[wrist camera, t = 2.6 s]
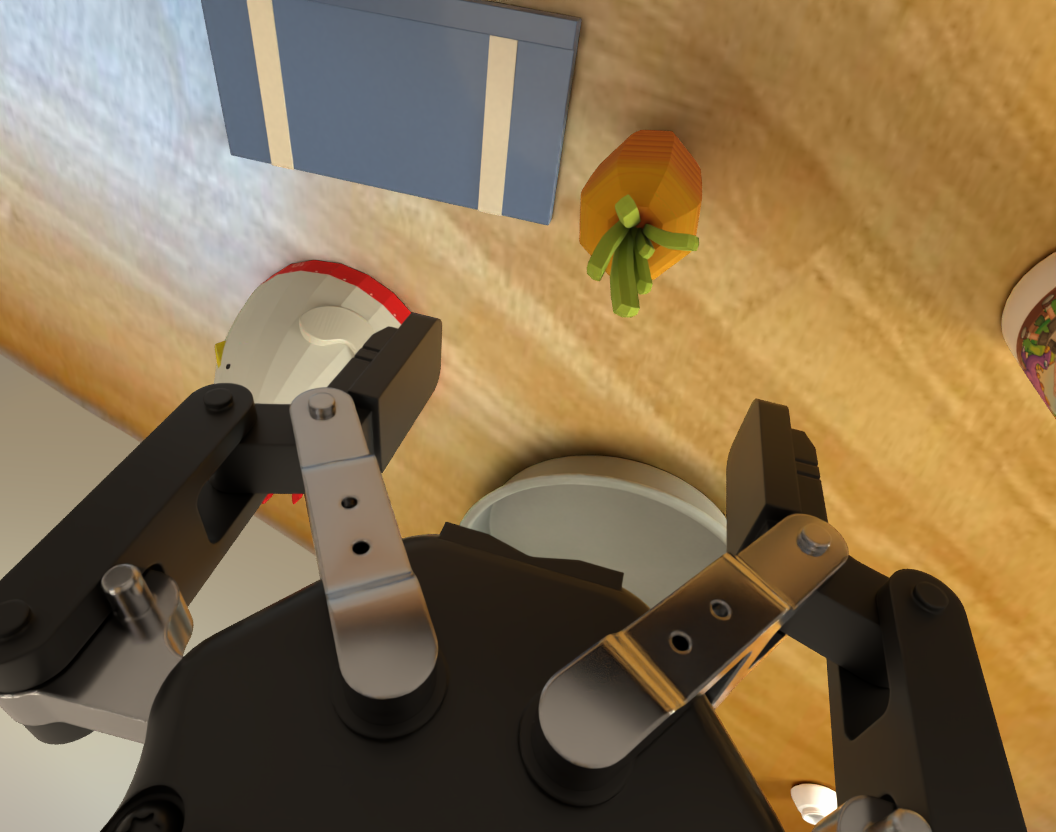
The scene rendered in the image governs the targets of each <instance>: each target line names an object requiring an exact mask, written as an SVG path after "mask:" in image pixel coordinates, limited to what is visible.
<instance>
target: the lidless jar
mask: <svg viewBox="0 0 1056 832" xmlns="http://www.w3.org/2000/svg"><path fill="white" fill-rule="evenodd" d="M791 797H792V799H793V801H794V803H795V804H796V806H797V808H798V810H799V811H800V812H801V813H802V817H803V819H804V820H805V821H807V822H809V823H811V824H815V825H816V824H817V823H818V822H819V821H820V820H821V819H823V818H824V817H826V816H827V815H828V814H830V813H831V812H833V811H834V810H835V809H837V800H836V792H835V791H833V790H831V789H829V788H827V787H825V786H821V785H818V784H801V785H797V786H794V787H793V788H792V789H791Z"/></svg>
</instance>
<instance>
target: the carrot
mask: <svg viewBox="0 0 1056 832" xmlns="http://www.w3.org/2000/svg"><path fill="white" fill-rule="evenodd" d="M701 201H702V178H701V169H700V167H699V166H698V164H697V162H696V160H695V159H694V158H693V157H692V155H691V154H690V153H689V152H688V150H687V149H686V148H685V147H684V145H683V144H682V143H681V142H680V140H679V139H678V138H677V137H676V135H675V134H674V133H673V132H672V131H657V130H640V131H637V132H635V133H633V134H632V135H630V136H629V137H628V138H627V139H626V140H625V141H624V142H623V143H622V144H621V145H620V146H619V147H618V148H617V149H616V150H615V151H613V152H612V153H611V154H610V155H609V156H608V157H607V158H606V159H605V160H604V161H603V162H602V163H601V164H600V165H599V166H598V168H597V169H596V170H595V172H594V173H593V174H592V176H591V177H590V179H589V180H588V182H587V183H586V185H585V187H584V188H583V190H582V192H581V207H580V237H579V241H580V244H581V245H582V246H583V247H584V249H585V250H586V251H587V252H588V253H589V254H590V255H591V258H590V260H589V262H588V266H587V274H588V275H589V276H590V277H591V278H592V279H593V280H597V281H600V280H601V278H602V276H603V274H604V272H605V271H606V272H607V274H608V275H609V276H610V288H611V300H612V306H613V312H614V313H615V314H617V315H619V316H621V317H633V316H635V315H637V313H638V311H639V309H640V307H639V299H638V293H639V294H647V293H649V292H650V291H651V288H652V284H653V283H652V280H654V279H655V278H657V277H658V276H659V275H661V274H662V273H663V272H665V271H666V270H667V269H669V268H670V267H671V266H673V265H674V264H676V263H677V262H678V261H680V260H681V259H682V258H684V257H685V256H686V255H688V254H689V253H690V252H691V251H697V248H698V246H699V238H698V237H696V233H697V226H698V220H699V214H700V207H701Z"/></svg>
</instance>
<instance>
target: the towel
mask: <svg viewBox="0 0 1056 832" xmlns="http://www.w3.org/2000/svg"><path fill="white" fill-rule="evenodd" d="M201 3H202V8H203V13H204V19H205V24H206V29H207V34H208V39H209V44H210V50H211V55H212V60H213V65H214V70H215V75H216V80H217V86H218V91H219V96H220V101H221V106H222V111H223V116H224V122H225V127H226V132H227V137H228V142H229V147H230V153H231V155H234V156H238V157H243V158H247V159H252V160H256V161H261V162H265V163H270V164H272V165H274V166H278V167H283V168H287V169H292V170H294V169H297V170H301V171H306V172H310V173H315V174H319V175H324V176H328V177H333V178H337V179H342V180H346V181H351V182H355V183H360V184H364V185H369V186H373V187H378V188H382V189H387V190H391V191H396V192H400V193H404V194H409V195H413V196H418V197H422V198H427V199H431V200H436V201H440V202H445V203H449V204H454V205H458V206H463V207H467V208H472V209H476V210H478V211H480V212H485V213H489V214H494V215H498V216H501V215H503V216H508V217H512V218H517V219H521V220H526V221H530V222H535V223H539V224H544V225H549V223H550V222H551V219H552V213H553V206H554V199H555V193H556V186H557V179H558V173H559V166H560V160H561V153H562V146H563V140H564V133H565V126H566V120H567V113H568V107H569V100H570V93H571V87H572V80H573V73H574V67H575V60H576V54H577V47H578V40H579V34H580V27H581V20H582V19H581V18H578V17H573V16H567V15H562V14H556V13H551V12H545V11H540V10H534V9H529V8H523V7H518V6H512V5H507V4H501V3H496V2H490V1H485V0H201Z"/></svg>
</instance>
